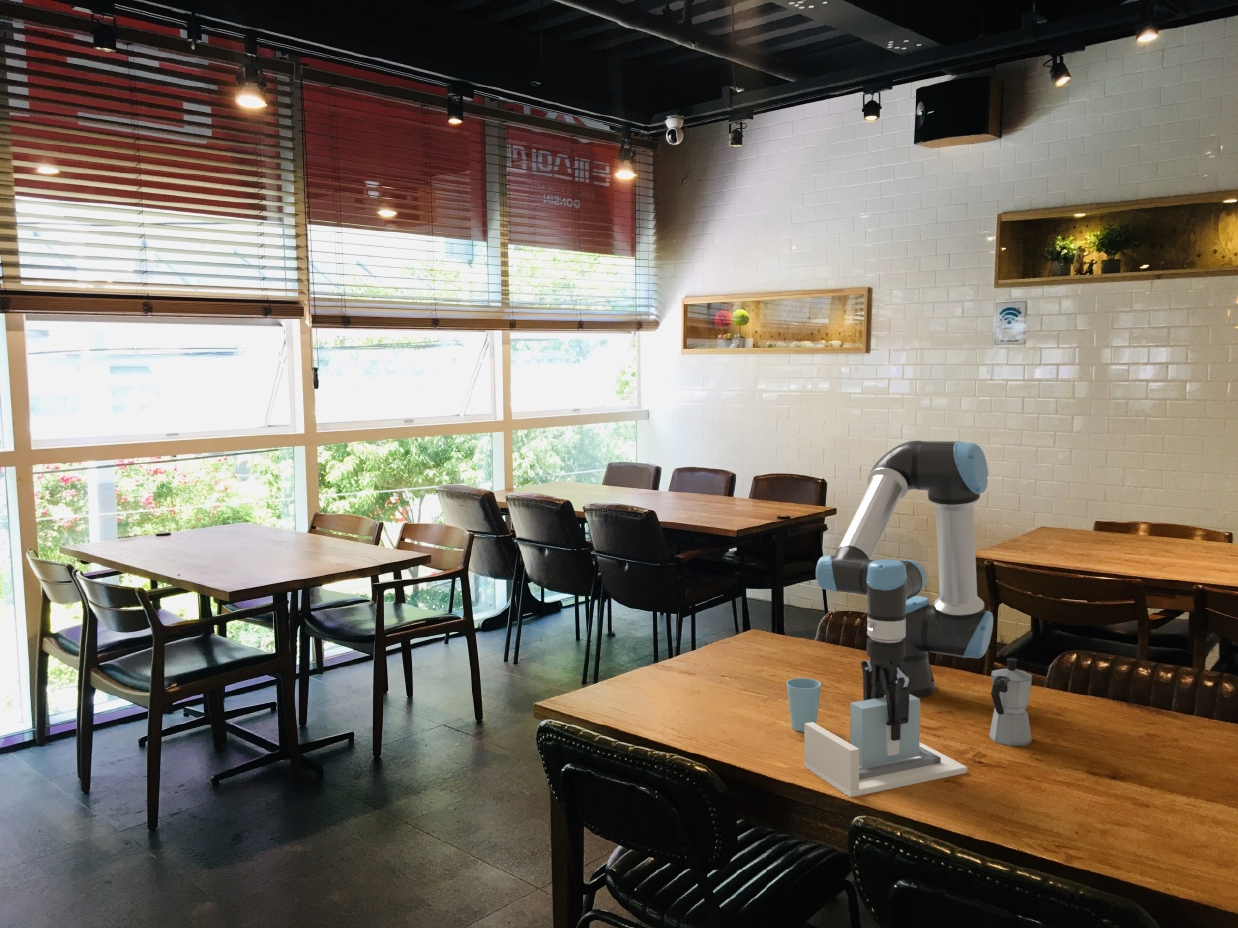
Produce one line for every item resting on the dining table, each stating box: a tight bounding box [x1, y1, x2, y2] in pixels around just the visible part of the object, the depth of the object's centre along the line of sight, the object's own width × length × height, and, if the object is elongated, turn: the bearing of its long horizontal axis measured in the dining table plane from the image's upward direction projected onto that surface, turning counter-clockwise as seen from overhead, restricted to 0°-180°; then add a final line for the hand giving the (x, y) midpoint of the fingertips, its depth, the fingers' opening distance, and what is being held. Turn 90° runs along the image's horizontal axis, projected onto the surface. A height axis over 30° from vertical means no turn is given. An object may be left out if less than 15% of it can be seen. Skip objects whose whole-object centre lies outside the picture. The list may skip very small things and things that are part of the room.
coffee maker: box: [988, 657, 1033, 747], centre depth 216 cm, size 15×9×18 cm, turn 135°
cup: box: [786, 677, 822, 733], centre depth 226 cm, size 8×8×10 cm
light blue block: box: [849, 694, 921, 767], centre depth 201 cm, size 14×4×12 cm, turn 112°
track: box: [803, 722, 968, 798], centre depth 202 cm, size 28×16×9 cm, turn 112°
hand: (885, 749), depth 202 cm, fingers closed on light blue block, 4 cm apart
